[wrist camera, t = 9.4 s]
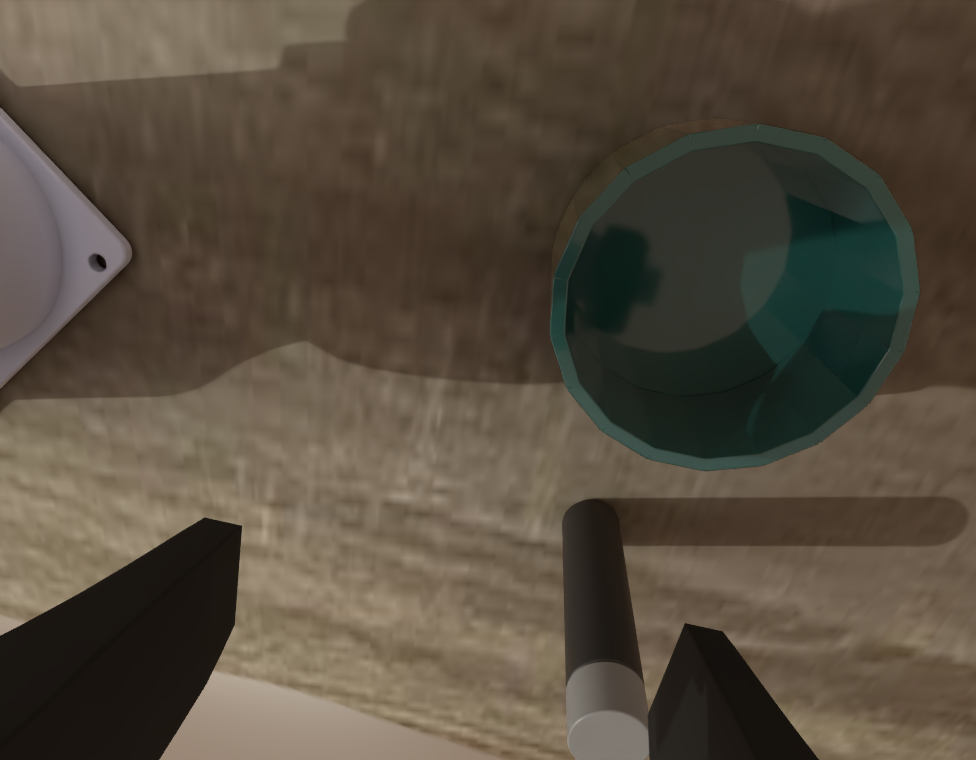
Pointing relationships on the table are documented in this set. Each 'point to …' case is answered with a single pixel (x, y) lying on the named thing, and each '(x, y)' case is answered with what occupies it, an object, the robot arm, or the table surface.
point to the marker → (600, 641)
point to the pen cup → (730, 292)
